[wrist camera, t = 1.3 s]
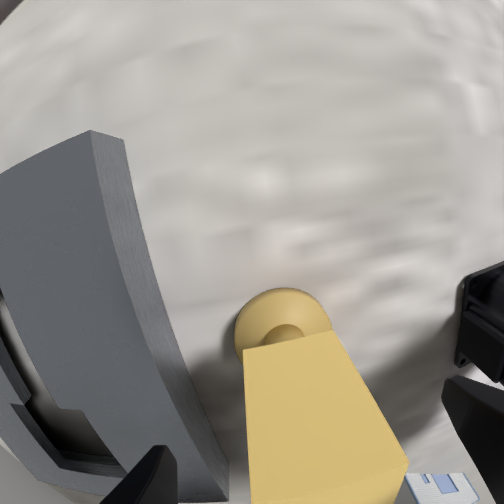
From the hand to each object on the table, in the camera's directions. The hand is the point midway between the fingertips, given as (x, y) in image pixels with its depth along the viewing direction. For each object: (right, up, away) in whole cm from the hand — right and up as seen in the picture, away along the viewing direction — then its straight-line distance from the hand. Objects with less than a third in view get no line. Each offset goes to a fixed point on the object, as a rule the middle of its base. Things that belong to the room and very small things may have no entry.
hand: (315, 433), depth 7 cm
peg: (0, +2, +6) cm, 7 cm away
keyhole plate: (-13, -1, +6) cm, 15 cm away
